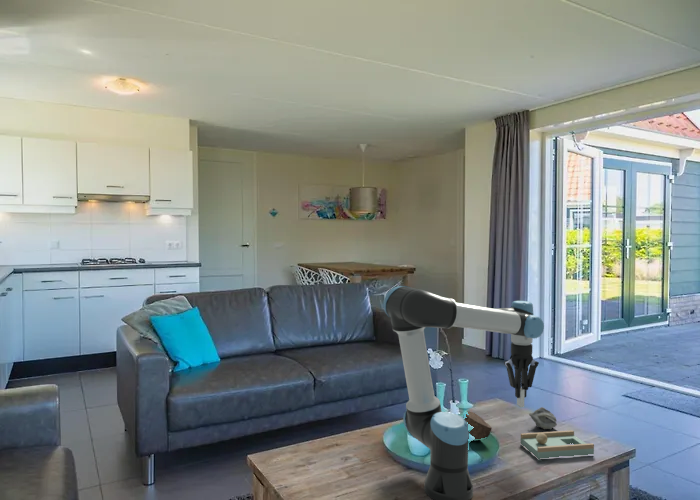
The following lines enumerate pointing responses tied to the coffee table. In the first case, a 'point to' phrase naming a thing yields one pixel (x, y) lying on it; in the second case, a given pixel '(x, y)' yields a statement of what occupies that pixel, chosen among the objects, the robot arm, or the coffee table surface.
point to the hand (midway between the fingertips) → (520, 405)
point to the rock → (478, 426)
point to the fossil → (543, 418)
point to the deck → (556, 444)
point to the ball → (541, 438)
